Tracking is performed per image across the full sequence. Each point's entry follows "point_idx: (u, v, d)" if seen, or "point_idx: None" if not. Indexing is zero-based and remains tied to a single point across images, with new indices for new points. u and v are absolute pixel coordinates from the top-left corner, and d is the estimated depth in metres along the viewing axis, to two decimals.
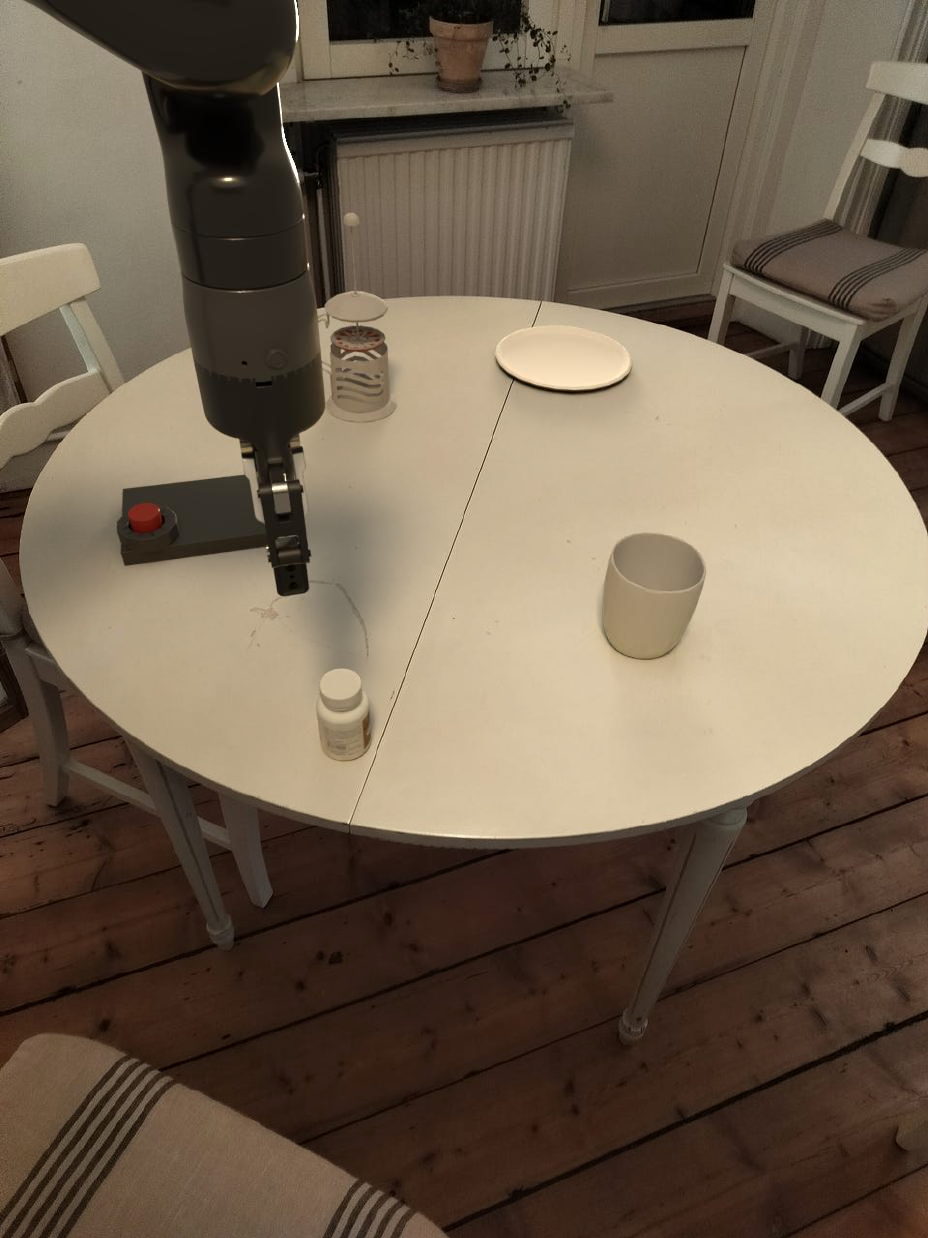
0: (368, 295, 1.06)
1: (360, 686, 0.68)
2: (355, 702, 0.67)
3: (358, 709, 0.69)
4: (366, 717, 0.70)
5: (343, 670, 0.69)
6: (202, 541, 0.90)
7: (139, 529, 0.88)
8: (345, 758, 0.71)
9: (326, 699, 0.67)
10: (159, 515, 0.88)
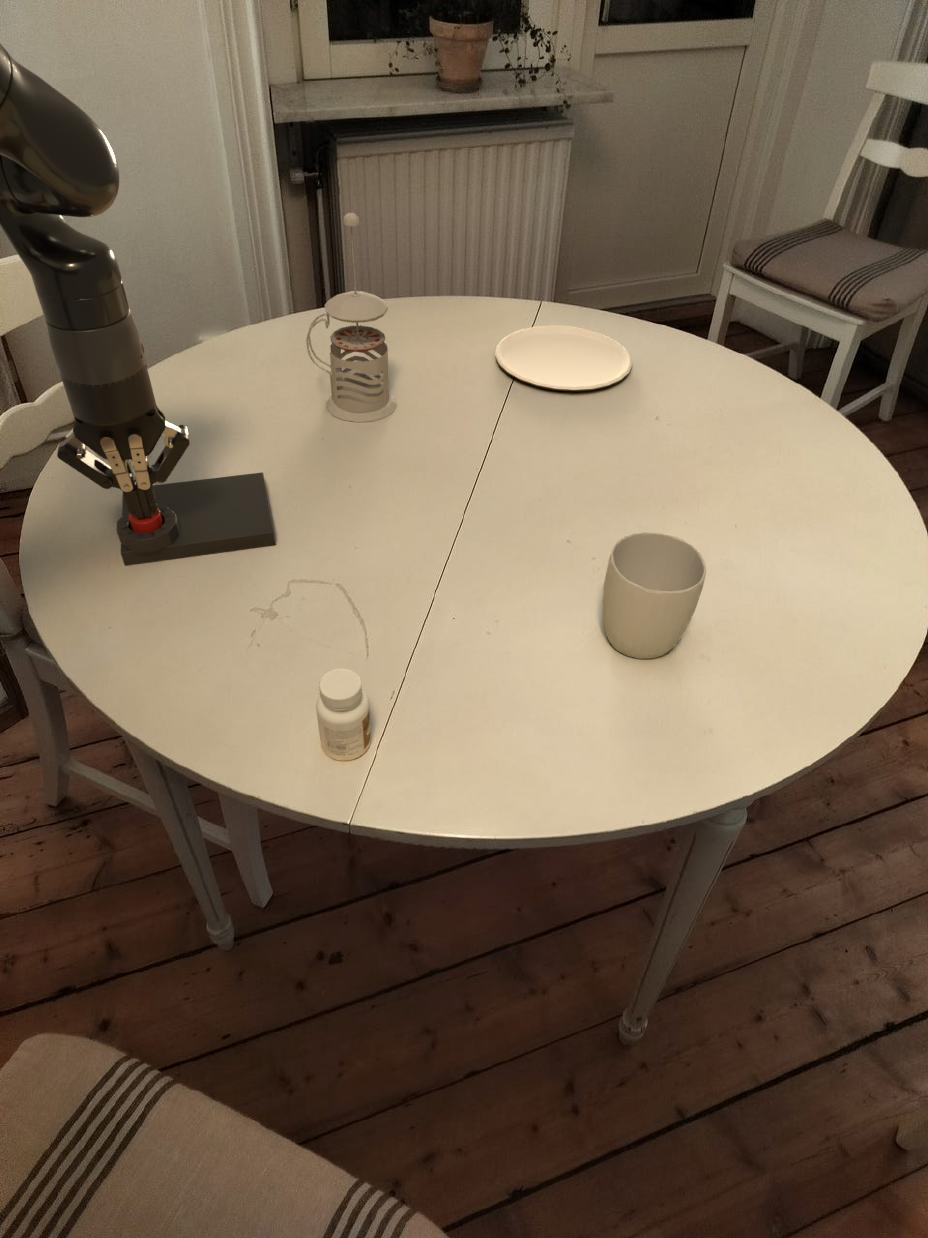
0: (368, 295, 1.06)
1: (360, 686, 0.68)
2: (355, 702, 0.67)
3: (358, 708, 0.69)
4: (366, 717, 0.70)
5: (343, 670, 0.69)
6: (202, 541, 0.90)
7: (140, 531, 0.88)
8: (345, 758, 0.71)
9: (326, 699, 0.67)
10: (160, 517, 0.88)
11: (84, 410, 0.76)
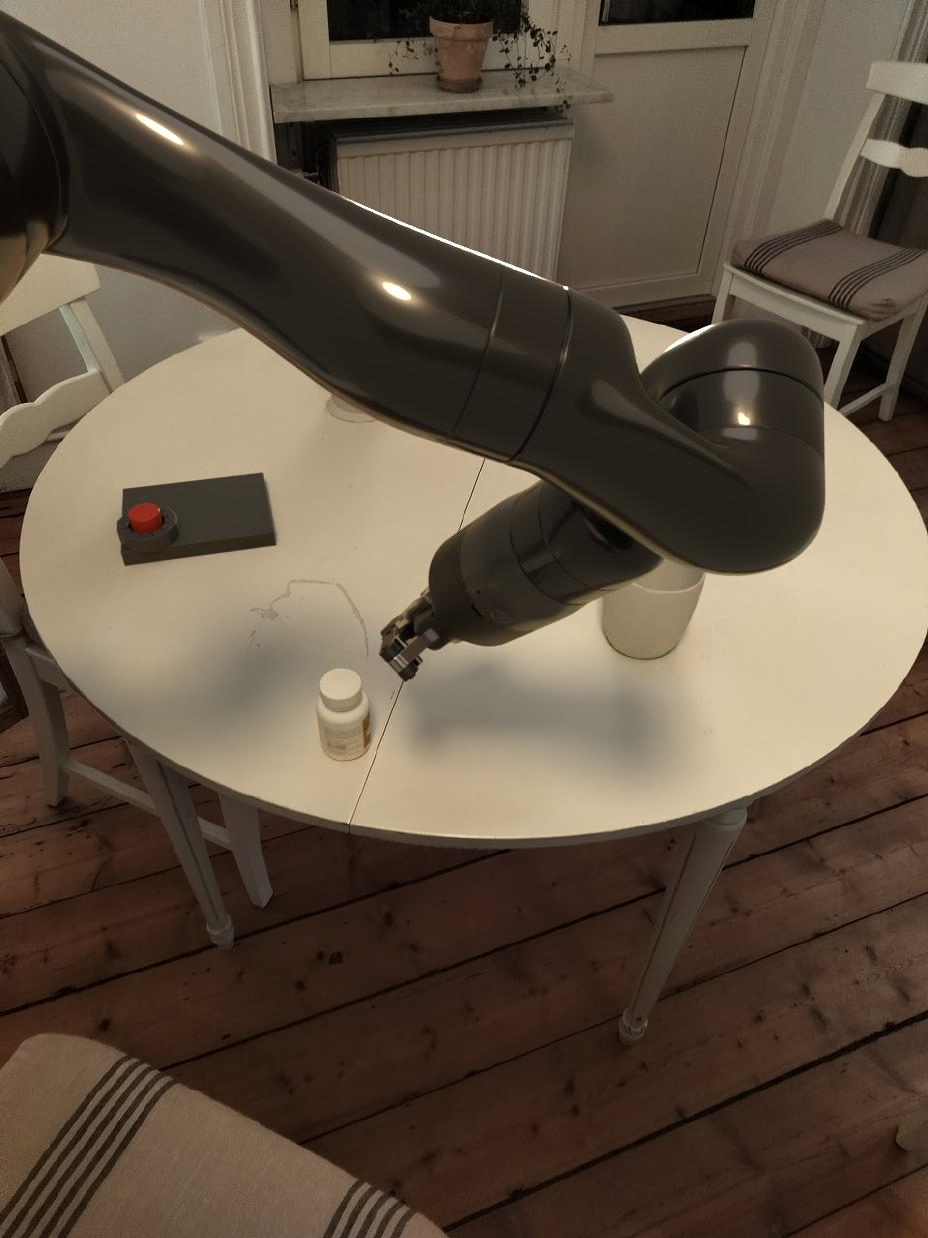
0: None
1: (360, 686, 0.68)
2: (355, 702, 0.67)
3: (358, 708, 0.69)
4: (366, 717, 0.70)
5: (343, 670, 0.69)
6: (202, 541, 0.90)
7: (139, 529, 0.88)
8: (345, 758, 0.71)
9: (326, 699, 0.67)
10: (159, 515, 0.88)
11: None
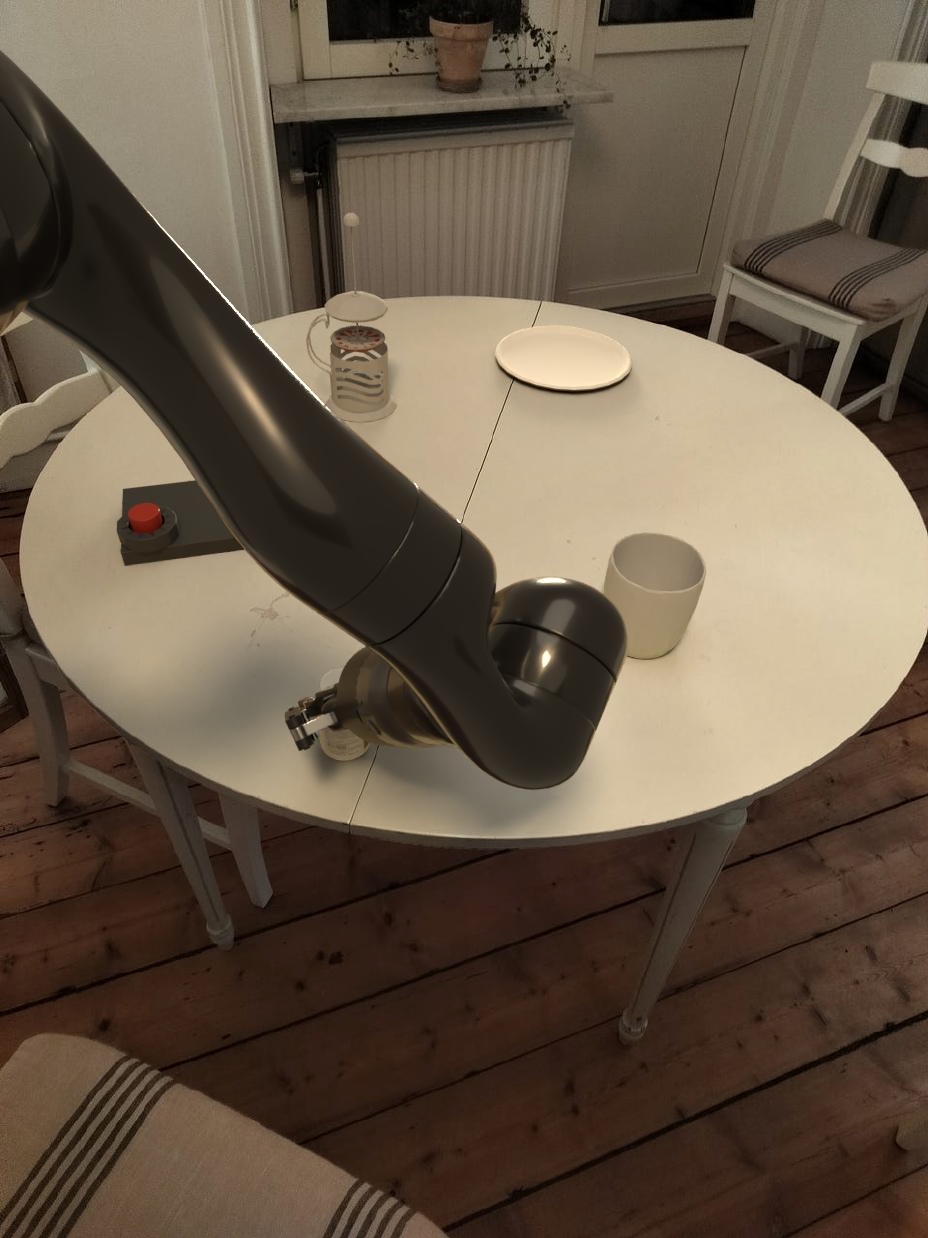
0: (368, 295, 1.06)
1: None
2: None
3: None
4: None
5: None
6: (202, 541, 0.90)
7: (139, 529, 0.88)
8: (345, 758, 0.71)
9: None
10: (159, 515, 0.88)
11: None
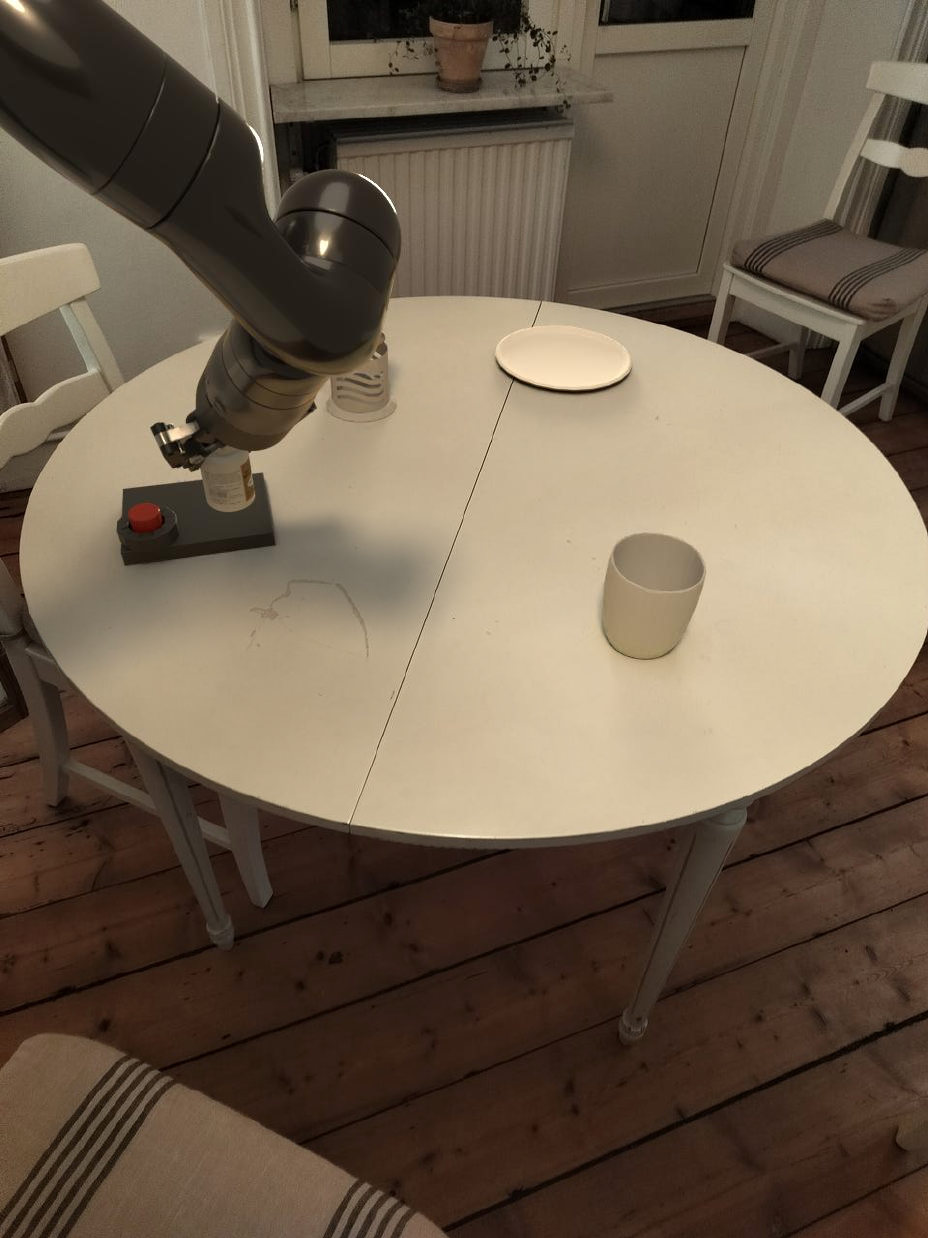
0: None
1: None
2: None
3: (236, 452, 0.73)
4: (245, 464, 0.74)
5: None
6: (202, 541, 0.90)
7: (139, 529, 0.88)
8: (227, 508, 0.75)
9: None
10: (159, 515, 0.88)
11: None
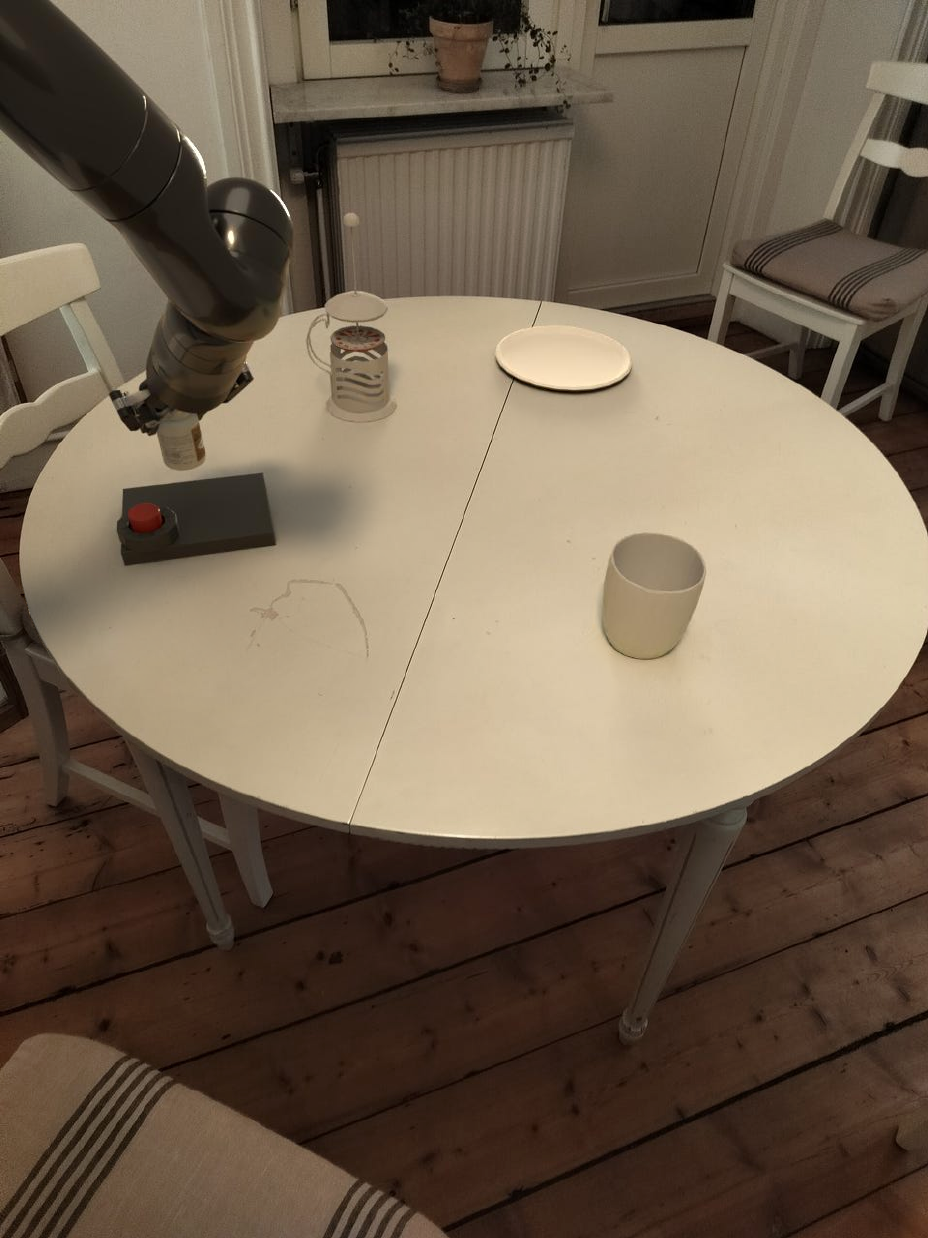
0: (368, 295, 1.06)
1: None
2: None
3: (187, 418, 0.84)
4: (195, 429, 0.85)
5: None
6: (202, 541, 0.90)
7: (139, 529, 0.88)
8: (181, 467, 0.87)
9: None
10: (159, 515, 0.88)
11: None
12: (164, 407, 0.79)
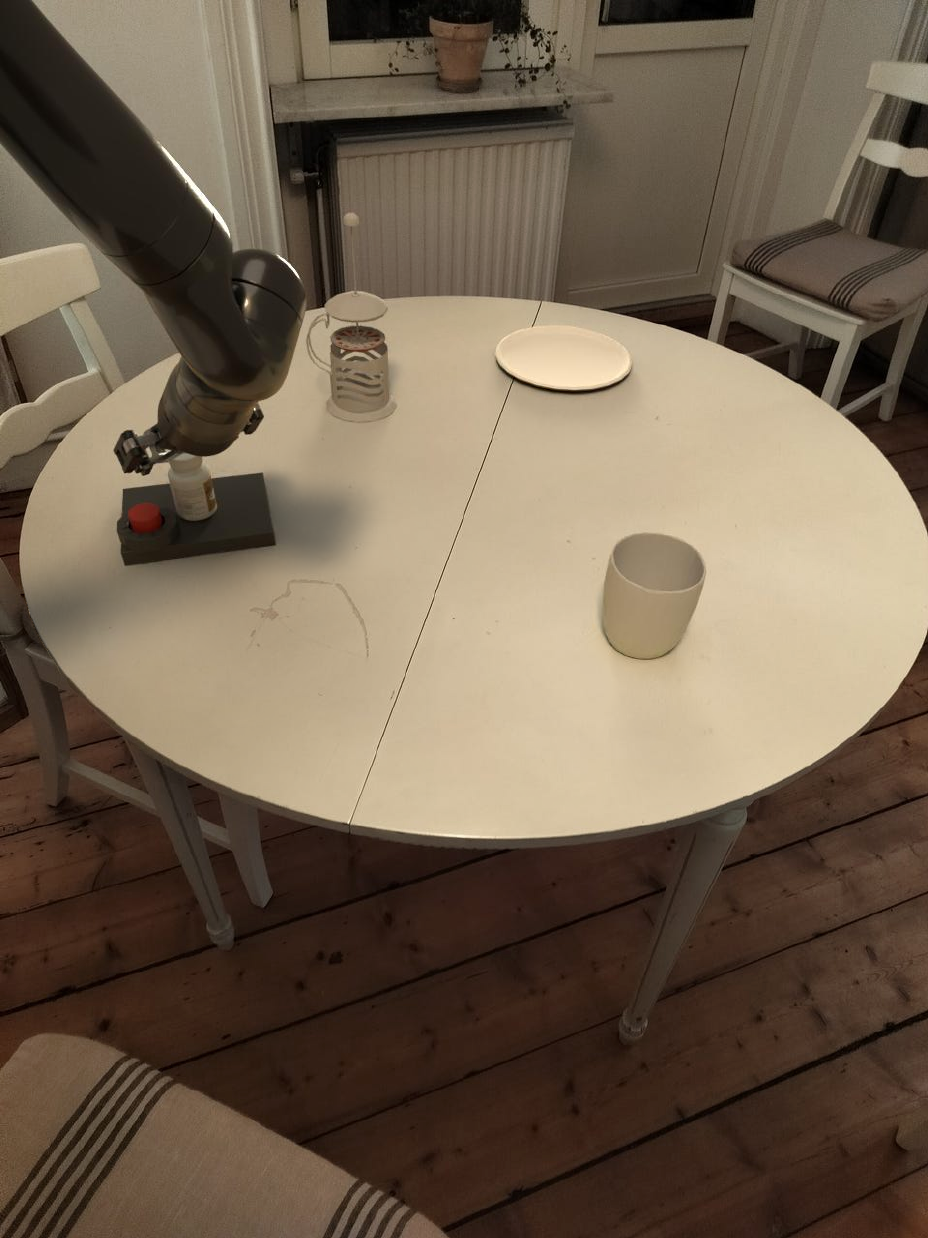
0: (368, 295, 1.06)
1: None
2: (194, 464, 0.88)
3: (199, 473, 0.89)
4: (207, 482, 0.90)
5: None
6: (202, 541, 0.90)
7: (139, 529, 0.88)
8: (193, 518, 0.92)
9: (171, 461, 0.87)
10: (159, 515, 0.88)
11: None
12: (171, 448, 0.81)
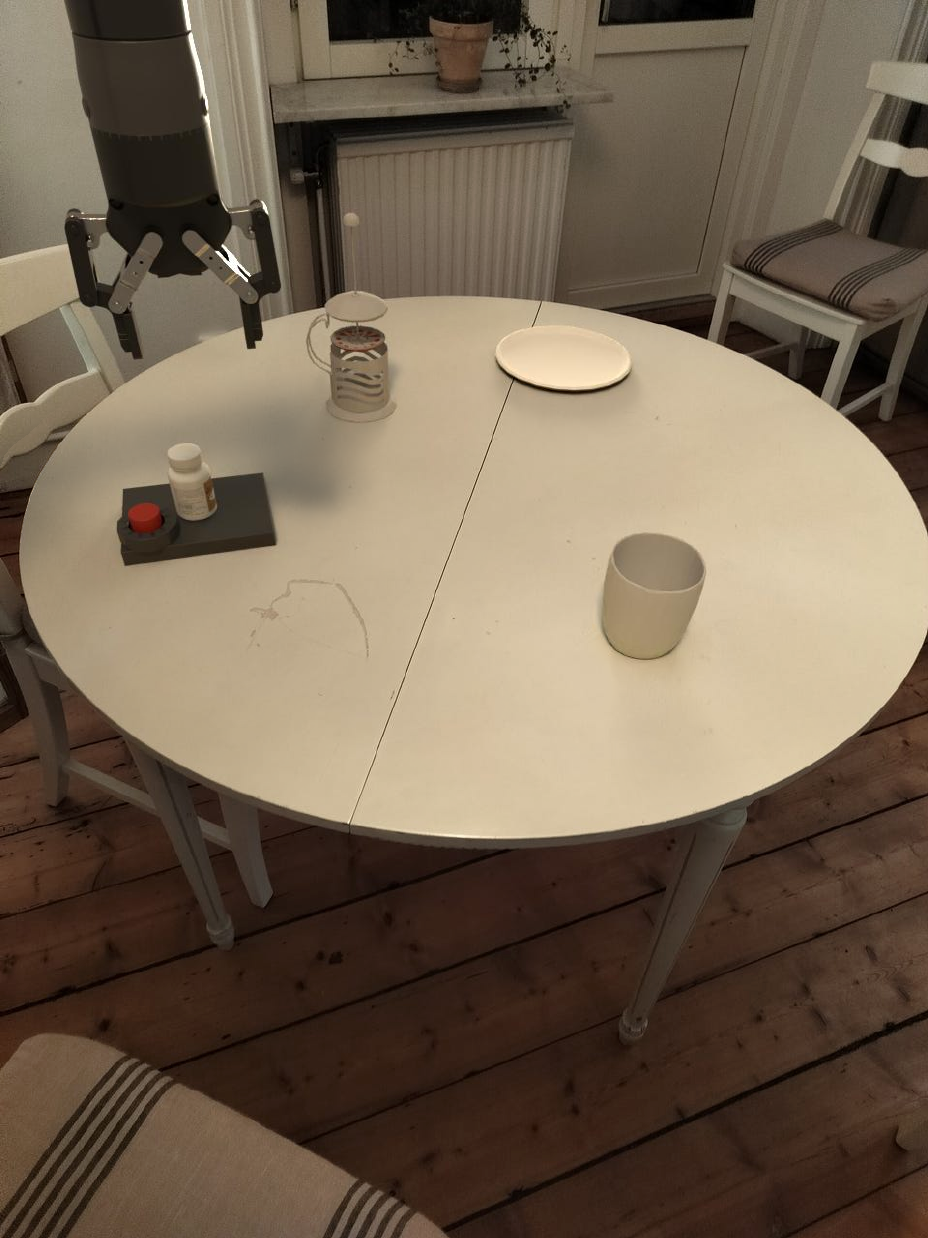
0: (368, 295, 1.06)
1: (198, 453, 0.88)
2: (194, 464, 0.88)
3: (199, 473, 0.89)
4: (207, 482, 0.90)
5: (188, 443, 0.89)
6: (202, 541, 0.90)
7: (139, 529, 0.88)
8: (193, 518, 0.92)
9: (171, 461, 0.87)
10: (159, 515, 0.88)
11: None
12: (134, 248, 0.58)
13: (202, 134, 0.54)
